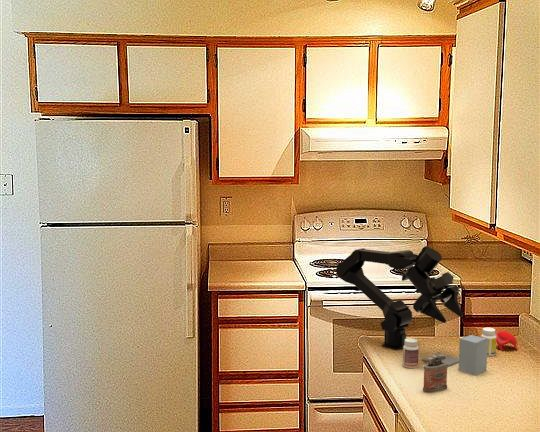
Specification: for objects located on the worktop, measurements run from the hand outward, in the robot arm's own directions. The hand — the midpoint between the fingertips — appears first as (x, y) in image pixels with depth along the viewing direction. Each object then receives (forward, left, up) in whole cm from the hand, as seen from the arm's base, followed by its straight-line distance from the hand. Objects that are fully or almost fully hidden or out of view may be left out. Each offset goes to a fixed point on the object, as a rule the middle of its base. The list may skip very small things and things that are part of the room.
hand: (453, 319), depth 220 cm
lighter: (+6, -22, -15) cm, 27 cm away
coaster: (-4, 0, -14) cm, 15 cm away
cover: (+7, -1, -14) cm, 16 cm away
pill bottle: (-9, -11, -15) cm, 20 cm away
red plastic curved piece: (+6, +25, -15) cm, 30 cm away
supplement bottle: (+4, +16, -15) cm, 22 cm away
